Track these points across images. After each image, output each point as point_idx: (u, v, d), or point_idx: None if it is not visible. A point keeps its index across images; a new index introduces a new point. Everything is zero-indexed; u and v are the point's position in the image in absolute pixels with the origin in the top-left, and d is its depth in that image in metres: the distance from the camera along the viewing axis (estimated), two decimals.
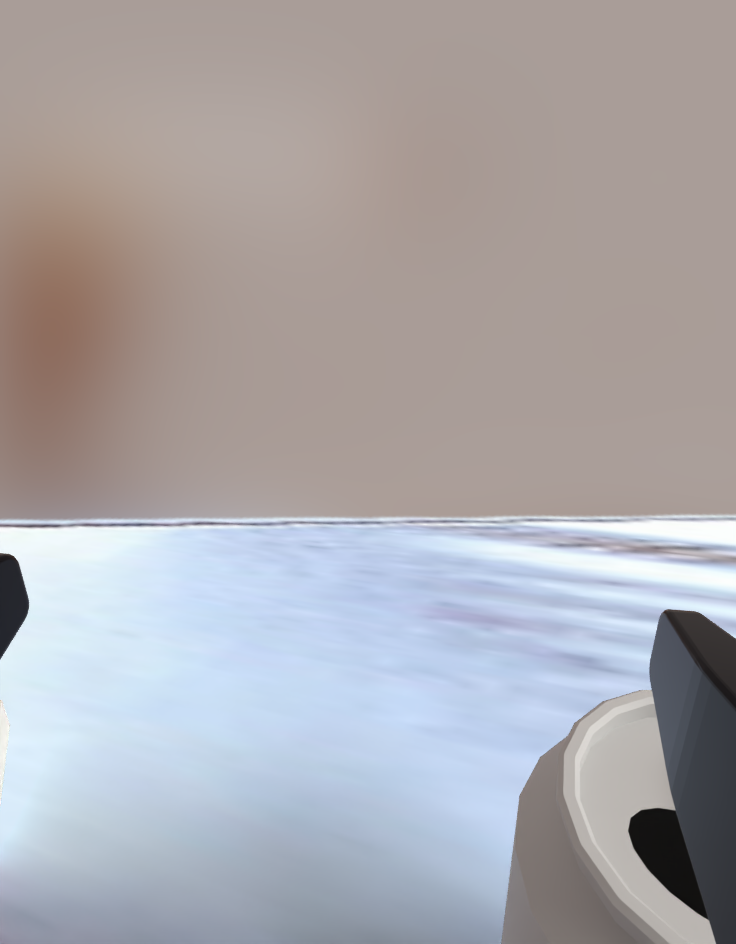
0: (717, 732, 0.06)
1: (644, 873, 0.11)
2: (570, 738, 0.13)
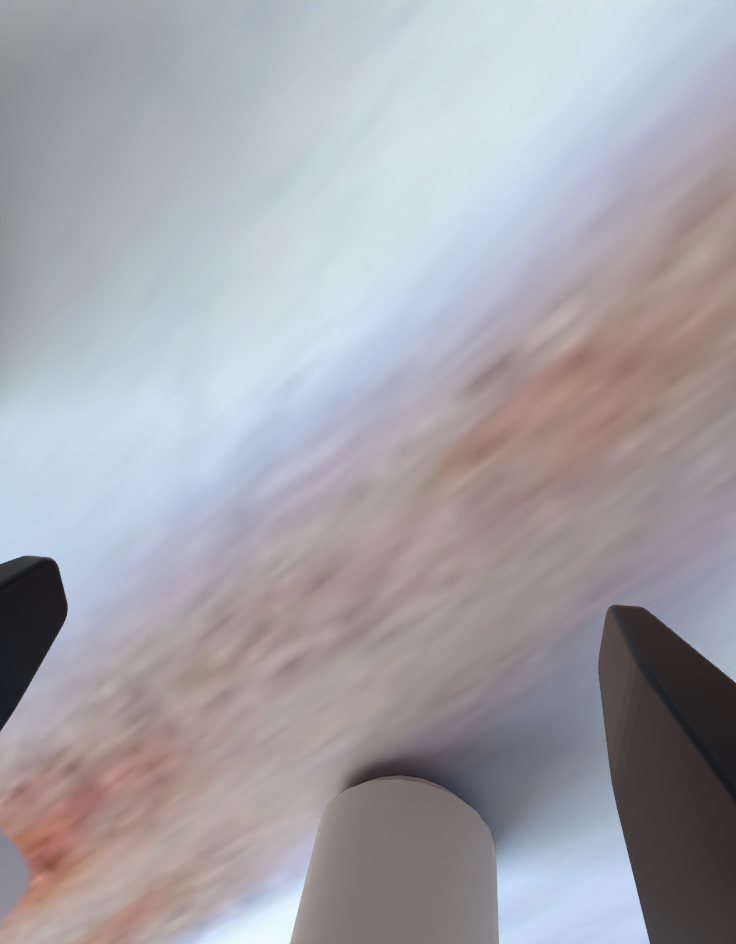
0: (648, 725, 0.06)
1: None
2: None
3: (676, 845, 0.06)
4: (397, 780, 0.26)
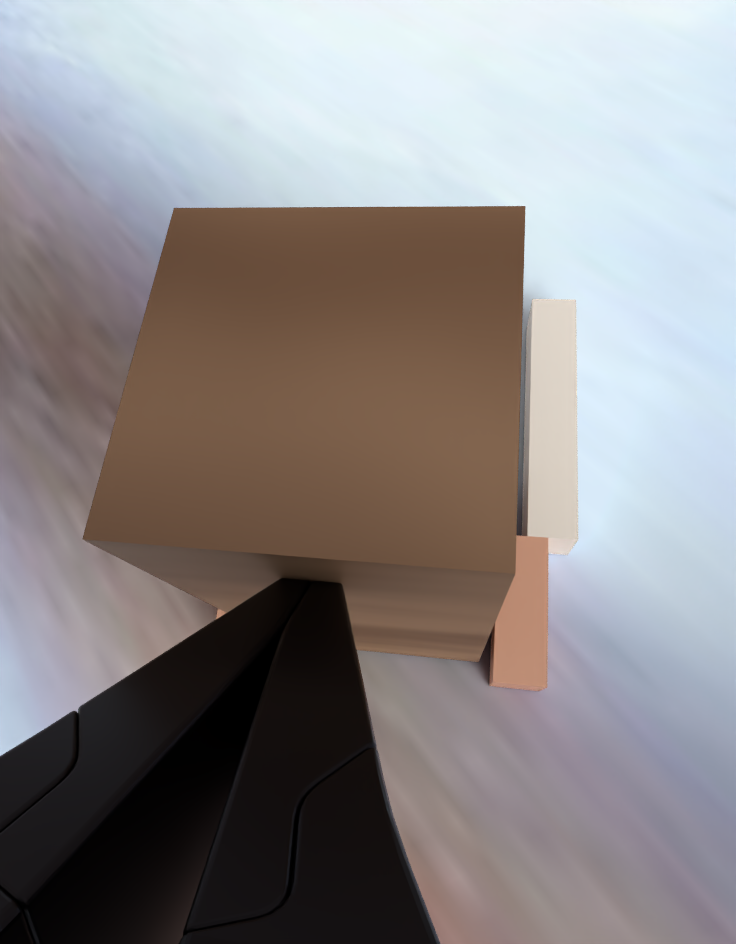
0: None
1: None
2: None
3: None
4: None
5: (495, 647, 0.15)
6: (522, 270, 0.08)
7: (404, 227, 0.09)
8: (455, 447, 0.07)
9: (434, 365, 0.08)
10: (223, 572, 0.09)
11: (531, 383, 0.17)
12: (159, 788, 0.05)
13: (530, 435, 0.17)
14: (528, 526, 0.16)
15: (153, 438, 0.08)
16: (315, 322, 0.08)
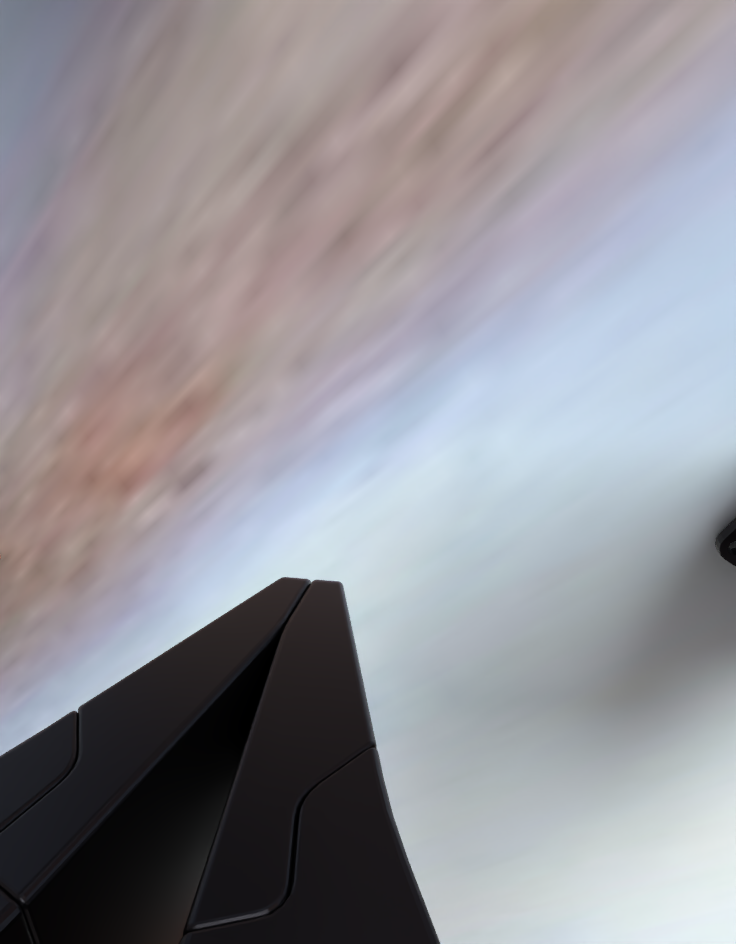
0: None
1: None
2: None
3: None
4: None
5: None
6: None
7: None
8: None
9: None
10: None
11: None
12: (159, 788, 0.05)
13: None
14: None
15: None
16: None
